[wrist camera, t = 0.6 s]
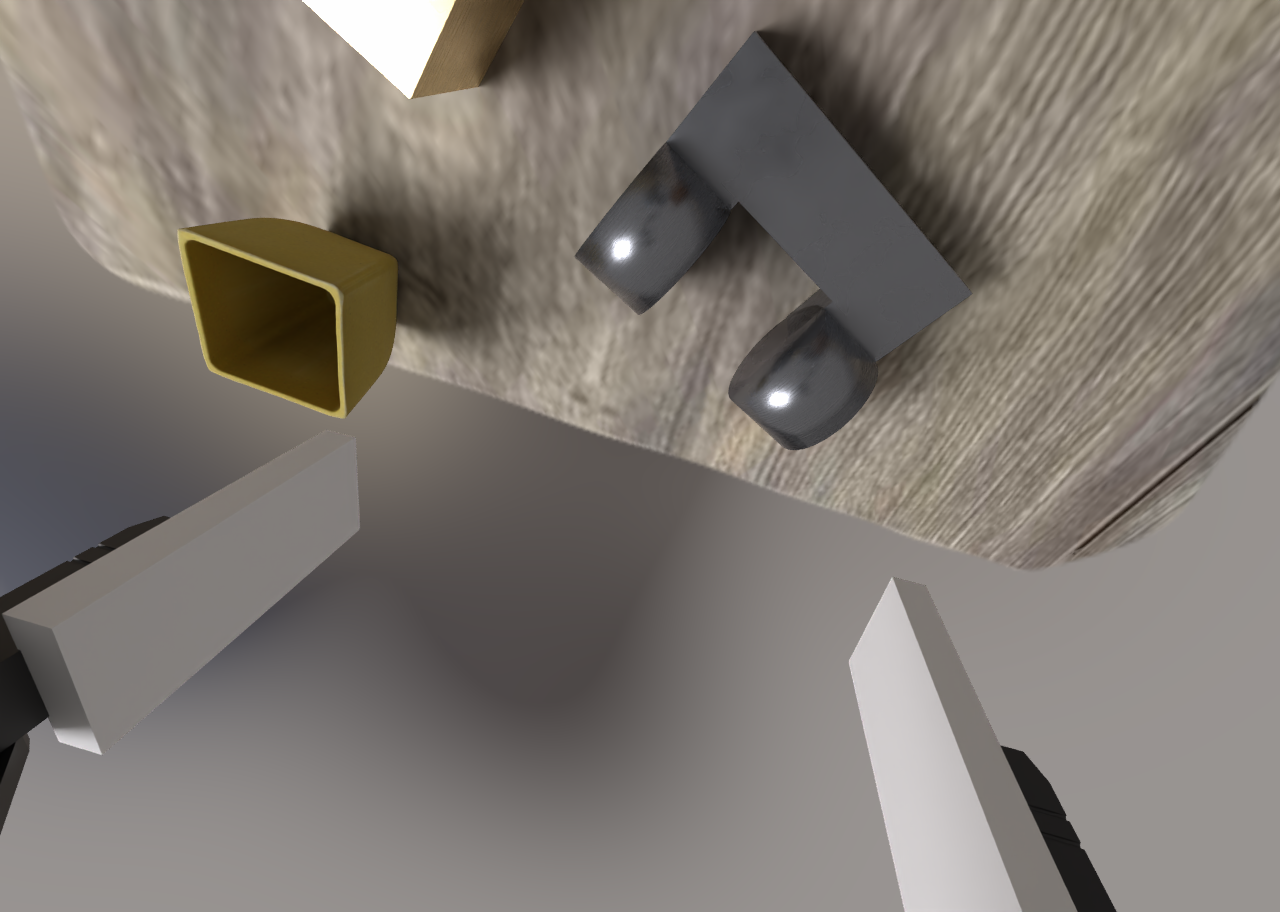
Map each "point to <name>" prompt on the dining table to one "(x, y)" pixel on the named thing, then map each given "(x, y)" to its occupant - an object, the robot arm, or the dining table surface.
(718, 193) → the hinge base leaf
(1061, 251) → the dining table surface
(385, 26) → the brass curved block
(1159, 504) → the dining table surface
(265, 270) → the flower pot
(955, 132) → the dining table surface
